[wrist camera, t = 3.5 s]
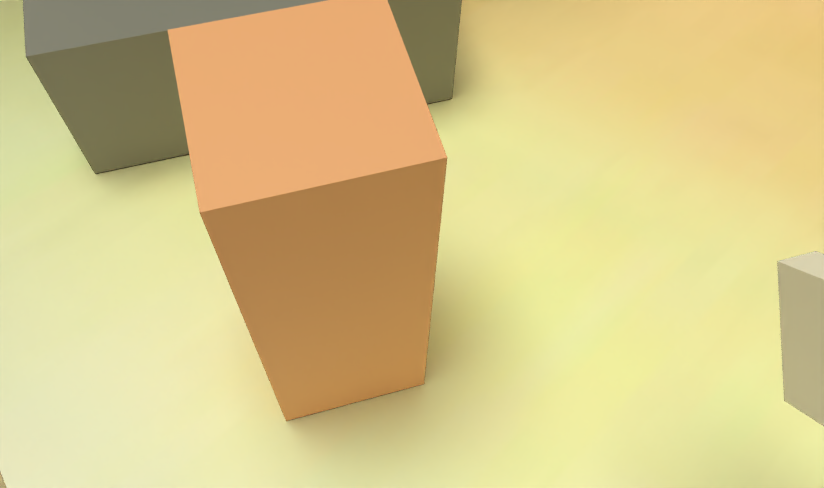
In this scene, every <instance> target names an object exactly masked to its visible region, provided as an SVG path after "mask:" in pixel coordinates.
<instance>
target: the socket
mask: <svg viewBox="0 0 824 488" xmlns="http://www.w3.org/2000/svg"><path fill="white" fill-rule="evenodd" d="M321 1H326V0H23V11H24V30H25V50H26V58H27V59H28V61H29V63H30V64H31V66H32V68H33V69H34V71H35V73H36V75H37V76H38V78H39V80H40V81H41V83H42V85H43V86H44V88H45V90H46V91H47V93H48V95H49V97H50V98H51V100H52V102H53V103H54V105H55V107H56V108H57V110H58V112H59V113H60V115H61V117H62V118H63V120H64V122H65V124H66V125H67V127H68V129H69V130H70V132H71V134H72V135H73V137H74V139H75V140H76V142H77V144H78V146H79V147H80V149H81V151H82V152H83V154H84V156H85V157H86V159H87V161H88V162H89V164H90V166H91V167H92V169H93V171H94V173H95V174H96V173H101V172H105V171H110V170H115V169H120V168H124V167H129V166H134V165H139V164H144V163H148V162H153V161H158V160H163V159H167V158H172V157H177V156H182V155H186V154H189V149H188V143H187V138H186V132H185V126H184V121H183V115H182V109H181V104H180V98H179V92H178V87H177V81H176V75H175V70H174V64H173V58H172V53H171V47H170V41H169V36H168V30H169V29H174V28H180V27H185V26H191V25H196V24H201V23H207V22H212V21H218V20H223V19H229V18H234V17H240V16H245V15H250V14H256V13H261V12H267V11H272V10H278V9H283V8H288V7H294V6H299V5H305V4H310V3H316V2H321ZM388 3H389V6H390V8H391V11H392V14H393V16H394V19H395V21H396V24H397V27H398V29H399V32H400V35H401V37H402V40H403V43H404V45H405V48H406V50H407V53H408V56H409V58H410V61H411V64H412V66H413V69H414V71H415V74H416V77H417V79H418V82H419V85H420V87H421V90H422V93H423V95H424V98H425V100H426V103H427V104H429V103H433V102H438V101H443V100H448V99H452V93H453V83H454V73H455V63H456V53H457V43H458V33H459V23H460V13H461V3H462V0H388Z"/></svg>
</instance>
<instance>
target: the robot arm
mask: <svg viewBox="0 0 824 488" xmlns="http://www.w3.org/2000/svg"><path fill="white" fill-rule="evenodd" d="M777 266H778V286H779V307H780V327H781V348H782V368H783V388H784V401H786V402H787V403H789V404H790V405H792V406H793V407H795V408H796V409H798V410H800V411H801V412H803V413H804V414H806V415H807V416H809V417H810V418H812V419H813V420H815V421H816V422H818V423H819V424H821V425H823V426H824V254H822V253H819V252H816V251H815V252H811V253H807V254H803V255H799V256H795V257H792V258H788V259H784V260H780V261H777ZM0 488H6V485H5V483H4V480H3V477H2V475H1V472H0Z"/></svg>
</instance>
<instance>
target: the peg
mask: <svg viewBox="0 0 824 488" xmlns="http://www.w3.org/2000/svg"><path fill="white" fill-rule="evenodd" d="M168 36H169V41H170V47H171V53H172V58H173V64H174V70H175V75H176V81H177V87H178V92H179V98H180V104H181V109H182V115H183V121H184V126H185V132H186V138H187V143H188V149H189V155H190V160H191V166H192V172H193V177H194V183H195V189H196V194H197V200H198V206H199V211H200V214H201V217H202V219H203V222H204V224H205V227H206V229H207V231H208V234H209V236H210V239H211V241H212V243H213V246H214V248H215V251H216V253H217V255H218V258H219V260H220V263H221V265H222V268H223V270H224V272H225V275H226V277H227V280H228V282H229V284H230V287H231V289H232V292H233V294H234V296H235V299H236V301H237V304H238V306H239V308H240V311H241V313H242V316H243V318H244V321H245V323H246V325H247V328H248V330H249V333H250V335H251V337H252V340H253V342H254V345H255V347H256V349H257V352H258V354H259V357H260V359H261V362H262V364H263V366H264V369H265V371H266V374H267V376H268V378H269V381H270V383H271V386H272V388H273V390H274V393H275V395H276V398H277V400H278V403H279V405H280V407H281V410H282V412H283V415H284V417H285V419H286V421H288V420H292V419H296V418H299V417H303V416H307V415H311V414H314V413H318V412H322V411H325V410H329V409H333V408H337V407H340V406H344V405H348V404H351V403H355V402H359V401H363V400H366V399H370V398H374V397H378V396H381V395H385V394H389V393H392V392H396V391H400V390H404V389H407V388H411V387H415V386H418V385H422V384H424V378H425V368H426V359H427V349H428V339H429V330H430V320H431V310H432V300H433V291H434V281H435V271H436V262H437V252H438V242H439V232H440V223H441V213H442V203H443V194H444V184H445V174H446V164H447V156H446V153H445V150H444V148H443V145H442V143H441V140H440V137H439V135H438V132H437V129H436V127H435V124H434V121H433V119H432V116H431V114H430V111H429V108H428V106H427V103H426V100H425V98H424V95H423V93H422V90H421V87H420V85H419V82H418V79H417V77H416V74H415V71H414V69H413V66H412V64H411V61H410V58H409V56H408V53H407V50H406V48H405V45H404V43H403V40H402V37H401V35H400V32H399V29H398V27H397V24H396V21H395V19H394V16H393V14H392V11H391V8H390V6H389V3H388V0H326V1H321V2H316V3H310V4H305V5H299V6H294V7H288V8H283V9H278V10H272V11H267V12H261V13H256V14H250V15H245V16H240V17H234V18H229V19H223V20H218V21H212V22H207V23H201V24H196V25H191V26H185V27H180V28H174V29H169V30H168Z"/></svg>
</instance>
